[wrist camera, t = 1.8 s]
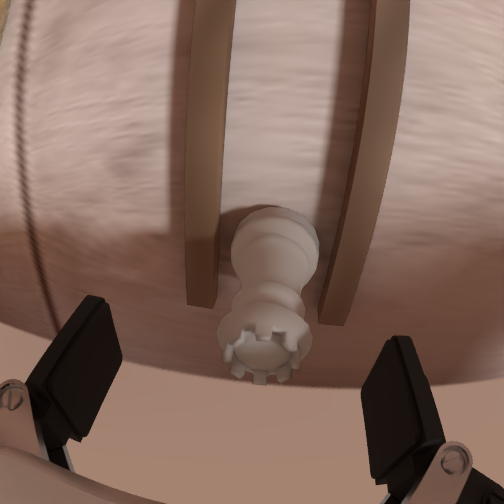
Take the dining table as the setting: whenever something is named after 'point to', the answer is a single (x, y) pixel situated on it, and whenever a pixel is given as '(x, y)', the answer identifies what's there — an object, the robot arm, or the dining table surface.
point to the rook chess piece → (269, 295)
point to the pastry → (3, 15)
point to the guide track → (362, 163)
